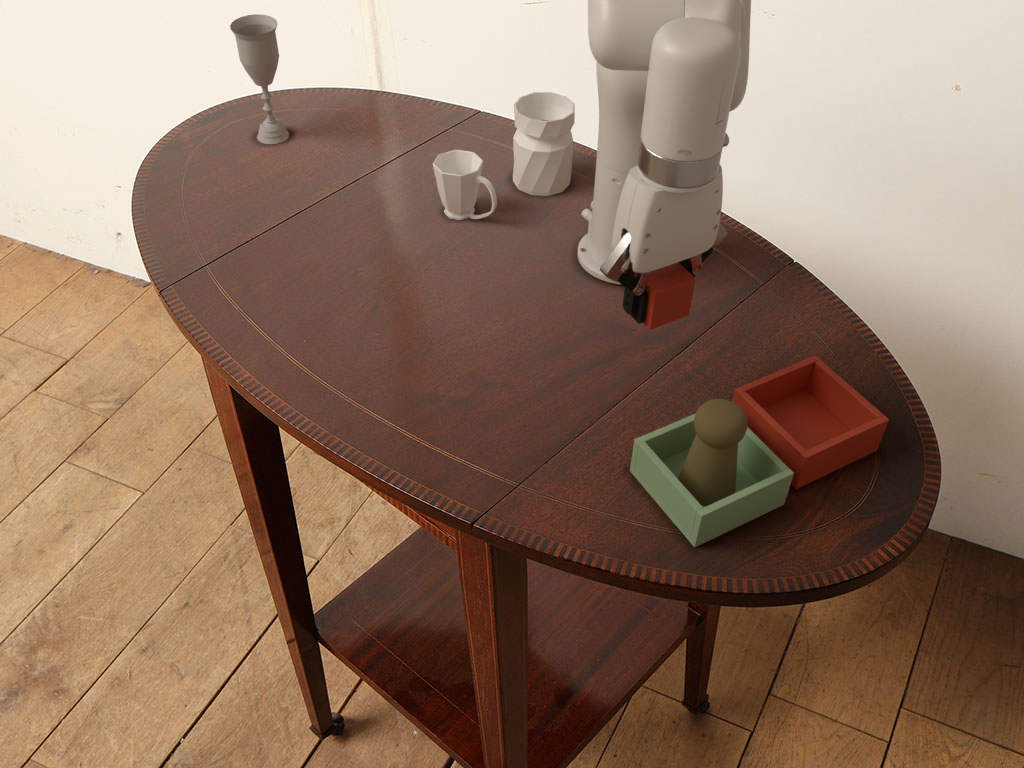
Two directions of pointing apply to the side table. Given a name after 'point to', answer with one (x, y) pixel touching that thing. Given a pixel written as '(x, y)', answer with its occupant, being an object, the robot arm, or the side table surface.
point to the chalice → (261, 66)
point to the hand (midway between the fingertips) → (656, 305)
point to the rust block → (668, 295)
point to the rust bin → (811, 419)
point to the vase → (543, 143)
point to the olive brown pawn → (714, 451)
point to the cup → (461, 183)
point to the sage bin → (658, 473)
